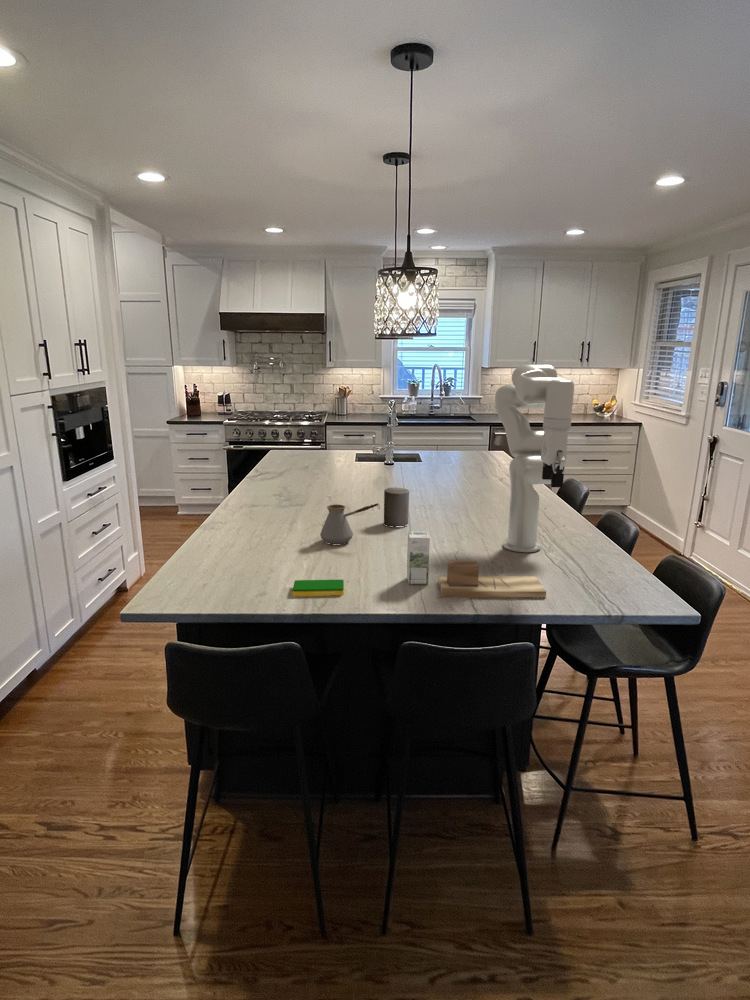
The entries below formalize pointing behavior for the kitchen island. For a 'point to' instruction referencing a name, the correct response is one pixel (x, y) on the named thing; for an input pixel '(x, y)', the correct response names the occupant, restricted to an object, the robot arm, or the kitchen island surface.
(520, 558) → the kitchen island surface
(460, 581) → the block
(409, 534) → the syrup box
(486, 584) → the board
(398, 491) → the pillar candle
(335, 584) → the dish sponge
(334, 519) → the coffee pot
